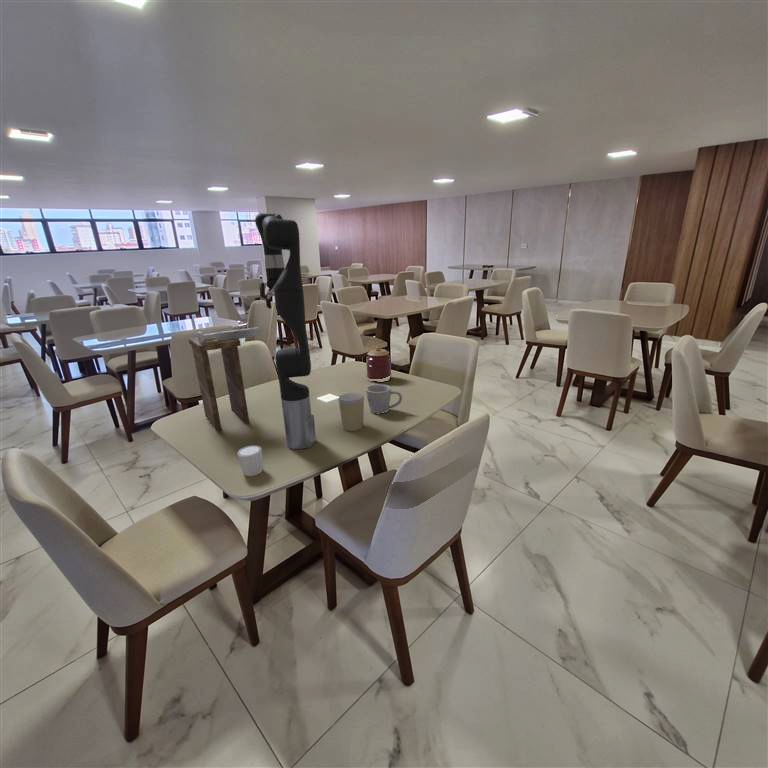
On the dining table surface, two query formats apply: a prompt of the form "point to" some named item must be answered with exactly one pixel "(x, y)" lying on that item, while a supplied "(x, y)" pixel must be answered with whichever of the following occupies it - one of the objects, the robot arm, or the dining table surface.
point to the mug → (380, 398)
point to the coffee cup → (352, 411)
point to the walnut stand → (232, 378)
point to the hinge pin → (229, 335)
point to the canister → (378, 364)
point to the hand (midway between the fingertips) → (279, 307)
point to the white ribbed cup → (250, 460)
